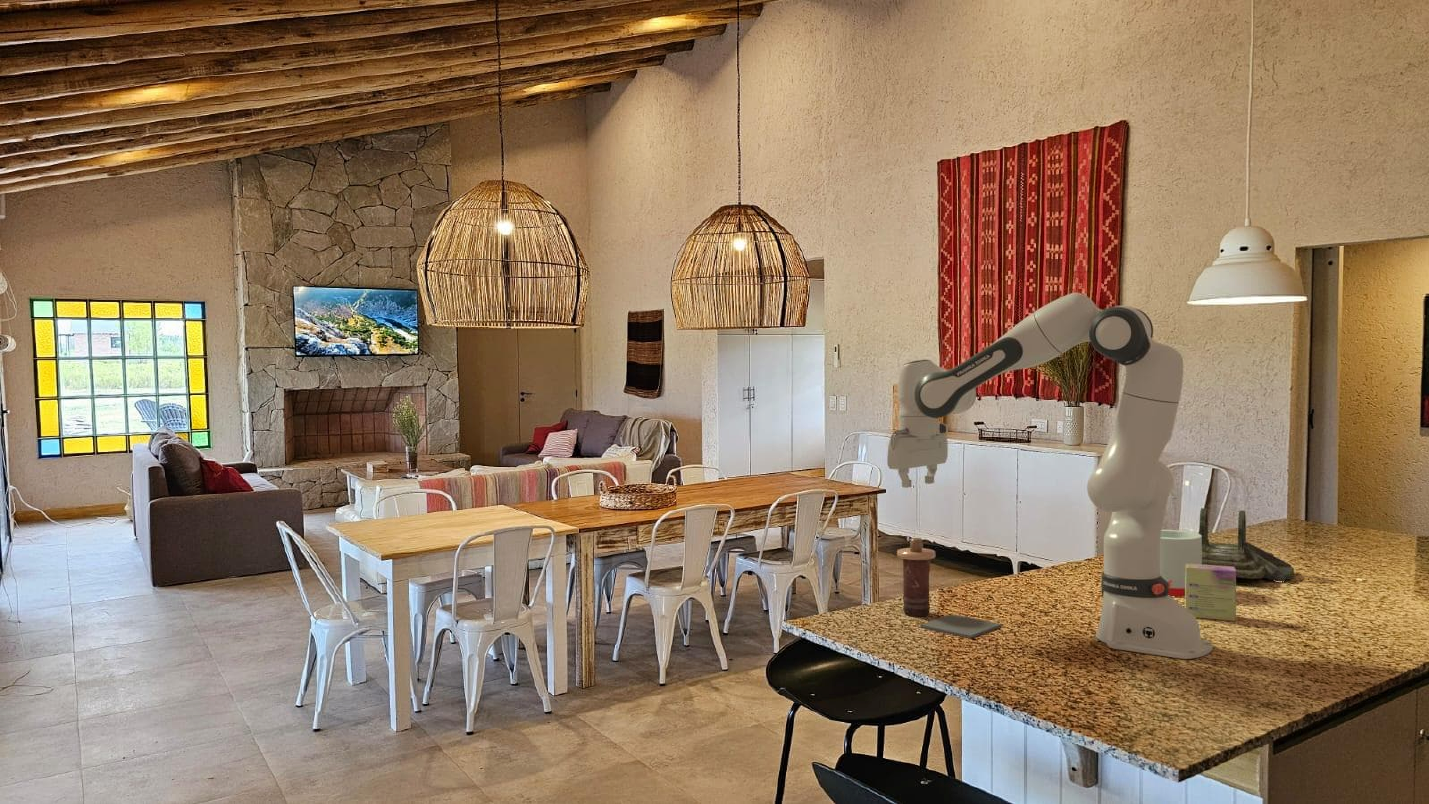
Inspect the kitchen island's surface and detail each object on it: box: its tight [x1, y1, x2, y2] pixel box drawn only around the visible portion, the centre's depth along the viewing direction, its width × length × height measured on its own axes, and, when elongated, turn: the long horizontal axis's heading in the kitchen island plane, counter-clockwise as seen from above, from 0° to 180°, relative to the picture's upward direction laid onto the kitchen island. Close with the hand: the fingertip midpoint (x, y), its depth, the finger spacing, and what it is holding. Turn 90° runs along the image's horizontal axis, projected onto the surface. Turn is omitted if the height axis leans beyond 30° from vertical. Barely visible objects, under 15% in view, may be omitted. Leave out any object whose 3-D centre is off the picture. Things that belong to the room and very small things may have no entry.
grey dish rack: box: [1198, 507, 1295, 582], centre depth 268 cm, size 35×34×18 cm
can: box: [902, 559, 931, 618], centre depth 228 cm, size 6×6×14 cm
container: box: [1160, 529, 1202, 598], centre depth 248 cm, size 16×16×15 cm
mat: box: [919, 613, 1002, 639], centre depth 216 cm, size 13×13×1 cm
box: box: [1184, 563, 1237, 622], centre depth 221 cm, size 10×6×12 cm, turn 65°
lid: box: [896, 537, 936, 560], centre depth 228 cm, size 9×9×4 cm
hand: (918, 485), depth 227 cm, fingers open, 8 cm apart
